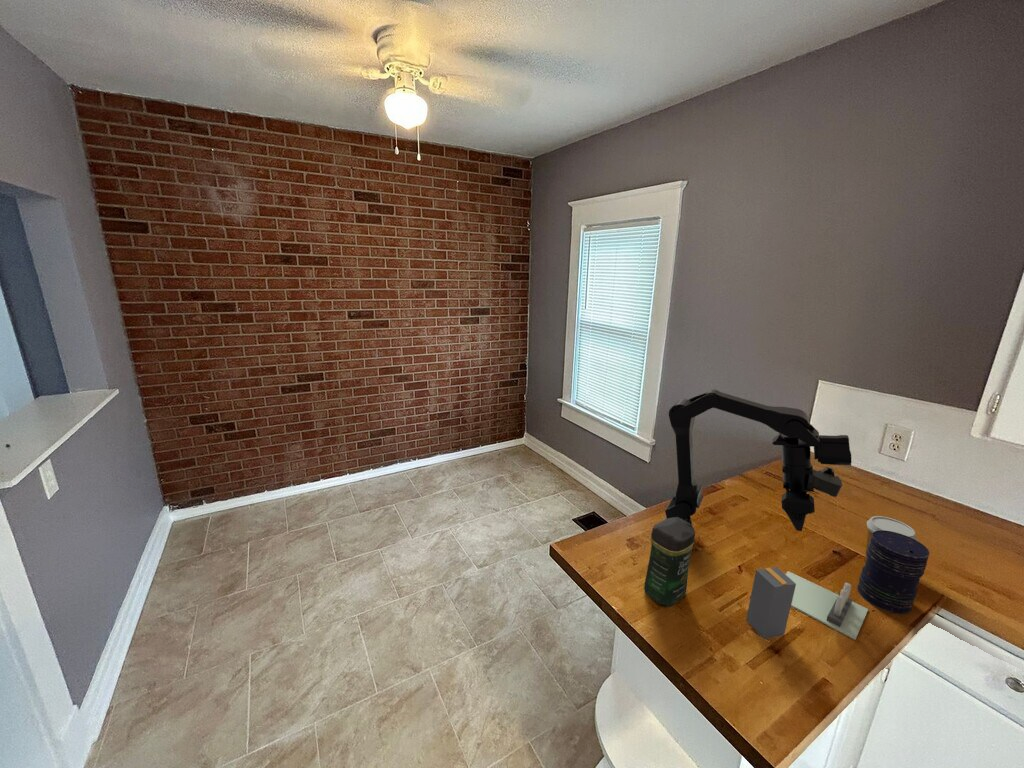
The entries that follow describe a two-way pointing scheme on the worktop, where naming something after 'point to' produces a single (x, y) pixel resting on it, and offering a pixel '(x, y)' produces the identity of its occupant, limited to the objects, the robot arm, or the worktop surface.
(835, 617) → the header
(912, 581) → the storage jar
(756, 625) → the plug block
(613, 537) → the worktop surface
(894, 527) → the disposable coffee cup
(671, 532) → the coffee jar
